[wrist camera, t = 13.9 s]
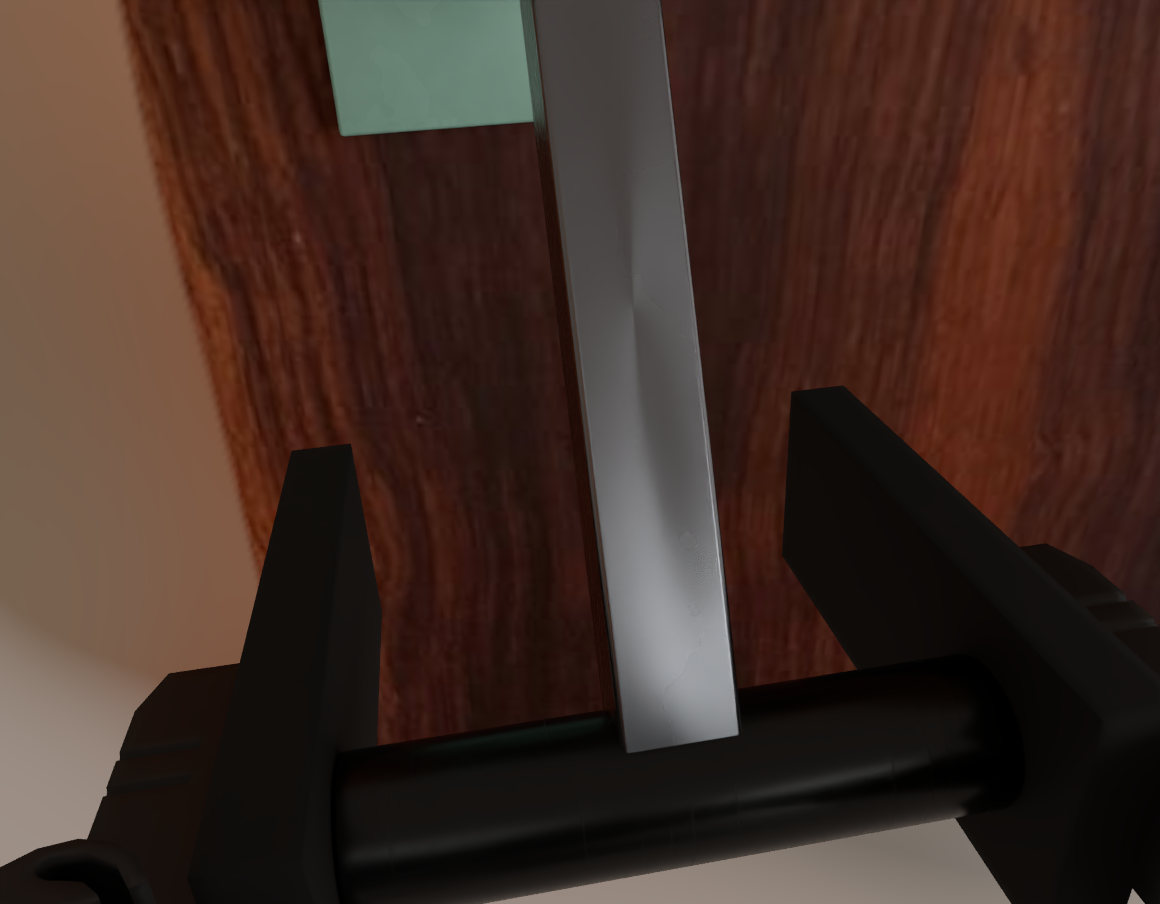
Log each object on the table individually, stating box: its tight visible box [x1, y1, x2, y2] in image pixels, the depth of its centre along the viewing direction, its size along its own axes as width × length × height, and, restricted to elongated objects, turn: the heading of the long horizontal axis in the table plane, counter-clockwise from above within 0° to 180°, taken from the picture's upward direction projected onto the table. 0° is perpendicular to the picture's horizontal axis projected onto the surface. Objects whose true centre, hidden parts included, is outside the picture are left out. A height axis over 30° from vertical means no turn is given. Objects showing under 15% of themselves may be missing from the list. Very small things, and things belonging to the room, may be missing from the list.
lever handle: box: [331, 0, 1025, 904], centre depth 8 cm, size 12×6×2 cm, turn 3°
